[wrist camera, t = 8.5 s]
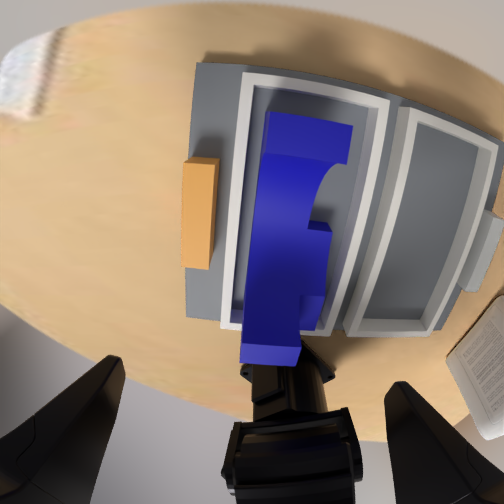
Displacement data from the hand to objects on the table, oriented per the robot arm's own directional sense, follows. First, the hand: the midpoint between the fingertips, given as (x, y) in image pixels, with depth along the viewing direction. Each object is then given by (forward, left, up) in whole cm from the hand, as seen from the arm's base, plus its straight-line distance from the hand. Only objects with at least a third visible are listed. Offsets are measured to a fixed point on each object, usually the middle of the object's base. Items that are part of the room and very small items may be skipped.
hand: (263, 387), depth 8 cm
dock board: (-3, -6, -12) cm, 14 cm away
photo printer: (-23, -12, -12) cm, 29 cm away
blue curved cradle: (0, -2, -11) cm, 11 cm away
